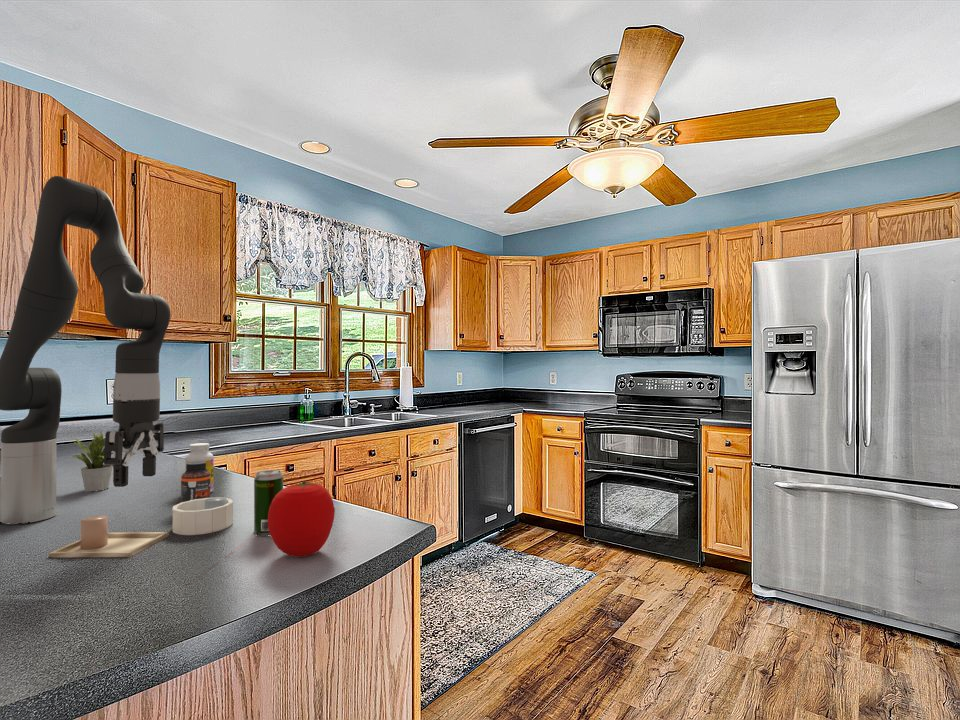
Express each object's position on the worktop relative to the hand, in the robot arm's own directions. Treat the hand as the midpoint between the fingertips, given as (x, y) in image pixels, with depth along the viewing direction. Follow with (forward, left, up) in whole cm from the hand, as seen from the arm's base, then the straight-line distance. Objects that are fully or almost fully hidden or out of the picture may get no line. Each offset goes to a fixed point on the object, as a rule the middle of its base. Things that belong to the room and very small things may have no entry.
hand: (135, 480), depth 99 cm
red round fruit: (+35, -8, -12) cm, 38 cm away
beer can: (+24, +4, -12) cm, 27 cm away
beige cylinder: (-4, -5, -11) cm, 13 cm away
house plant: (-37, +41, -12) cm, 57 cm away
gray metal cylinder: (+11, +8, -11) cm, 18 cm away
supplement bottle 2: (+1, +19, -12) cm, 23 cm away
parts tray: (-1, -5, -11) cm, 12 cm away
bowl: (+9, +7, -11) cm, 16 cm away
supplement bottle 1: (-8, +37, -12) cm, 40 cm away
